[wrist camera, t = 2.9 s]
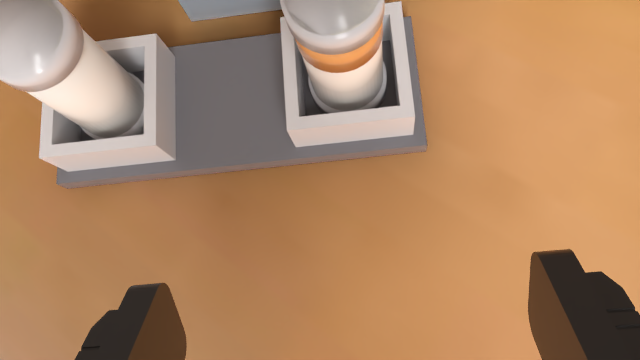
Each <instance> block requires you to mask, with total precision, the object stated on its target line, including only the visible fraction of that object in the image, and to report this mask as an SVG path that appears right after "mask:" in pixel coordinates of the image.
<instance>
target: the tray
mask: <svg viewBox="0 0 640 360" xmlns="http://www.w3.org/2000/svg"><path fill="white" fill-rule="evenodd" d="M178 1H179V3H180V5H181V6H182V8H183V9H184V11H185V12H186V14H187V15H188V17H189V18H190V20H191V21H199V20H207V19H214V18H222V17H229V16H237V15H244V14H252V13H259V12H267V11H275V10H282V8H281V4H280V0H178Z"/></svg>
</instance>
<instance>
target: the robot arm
mask: <svg viewBox="0 0 640 360" xmlns="http://www.w3.org/2000/svg"><path fill="white" fill-rule="evenodd" d="M528 314H529V322H530V327H531V331H532V334H533V337H534V340H535V342H536V345H537V348H538V350H539V353H540V355H541V358H542V360H640V315H639V313H638V312H637V311H635V307H634V305H633V304H632V302H631V300H630V299H629V297H628V296H627V294H626V293H625V291H624V289H623V288H622V287H621V286H620V285H618V284H617V283H616V282H614V281H613V280H612V279H610V278H609V277H608V276H606V275H605V274H604V273H602V272H589V273H585V272H584V270H583V268H582V266H581V265H580V263H579V261H578V259H577V258H576V256H575V254H574V253H573V251H572V250H570V249H566V250H554V251H542V252H534V253H533V254H532V256H531V266H530V282H529V299H528ZM185 356H186V335H185V331H184V328H183V325H182V322H181V320H180V317H179V314H178V311H177V308H176V306H175V303H174V300H173V297H172V294H171V292H170V289H169V287H168V286H167V284H165V283H157V284H145V285H134V286H131V287H130V288H129V289H128V290H127V292H126V294H125V296H124V298H123V301H122V303H121V305H120V307H119V309H118V310H109V311H108V312H107V313H106V314H105V315H104V316H103V317H102V318H101V319H100V320H99V321H98V322H97V323H96V324H95V325H94V326H93V327H92V328H91V330H90V332H89V334H88V335H87V337H86V339H85V341H84V343H83V345H82V347H81V351H79V353H78V355H77V356H76V358H75V360H185Z"/></svg>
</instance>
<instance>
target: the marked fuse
mask: <svg viewBox="0 0 640 360" xmlns="http://www.w3.org/2000/svg"><path fill="white" fill-rule="evenodd" d="M280 4H281V8H282V11H283V14H284V17H285V19H286V22H287V25H288V28H289V30H290V32H291V34H292V35H293V37H294V38H295V40H296V43H297V46H298V49H299V51H300V53H301V55H302V57H303V60H304V63H305V66H306V69H307V72H308V75H309V76H308V82H309V87H310V91H311V94H312V96H313V99H314V102H315V104H316V105H317V107H318V108H319V110H320V111H321V112H322V113H323V114H329V113H338V112H347V111H356V110H365V109H373V108H379V107H380V105H381V104H382V102H383V100H384V98H385V95H386V90H387V75H386V67H385V64H384V62H383V52H382V37H383V17H384V12H385V0H280Z"/></svg>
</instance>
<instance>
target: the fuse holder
mask: <svg viewBox="0 0 640 360" xmlns="http://www.w3.org/2000/svg"><path fill="white" fill-rule="evenodd" d="M280 24H281V33H276V34H269V35H261V36H253V37H245V38H237V39H230V40H222V41H214V42H206V43H199V44H191V45H183V46H175V47H167V46H166V45H165V44H164V42H163V41H162V40H161V39H160V37H159V36H158V35H157V34H149V35H141V36H133V37H126V38H118V39H111V40H103V41H95V42H96V43H97V44H98V45H100V46H101V47H102V48H103V49H104V50H105V51H106V52H107V53H108V54H109V55H110V56H111V57H112V58H113V59H114V60H115V61H116V62H117V63H118V64H119V65H120V66H122V67H123V68H124V69H125V70H126V71H127V72H129V73H131V74H133V75H135V76H136V77H137V78H138V79H139V80H140V81H141V82H142V83H144V134H143V135H134V136H125V137H116V138H107V139H99V140H95V139H94V138H92V137H91V136H89V135H88V134H86V133H85V132H84V131H83V130H82V128H81V127H80V126H79V125H77V124H76V123H74V122H73V121H71V120H70V119H68V118H66V117H65V116H63V115H62V114H60V113H59V112H57V111H55V110H54V109H52V108H51V107H49V106H48V105H46V104H44V103H43V102H42V117H41V134H40V150H39V158H40V159H42V160H44V161H46V162H48V163H51V164H53V165H55V166H57V184H58V185H60V186H62V187H65V188H67V189H68V188H78V187H87V186H97V185H106V184H116V183H126V182H135V181H145V180H154V179H164V178H174V177H183V176H193V175H202V174H212V173H222V172H231V171H241V170H250V169H260V168H270V167H279V166H289V165H298V164H308V163H318V162H327V161H337V160H346V159H356V158H366V157H375V156H385V155H394V154H404V153H414V152H423V151H426V149H427V140H426V132H425V124H424V116H423V108H422V100H421V92H420V84H419V76H418V69H417V61H416V53H415V45H414V37H413V29H412V21H411V16H409V17H403V13H402V4H401V1H400V2H392V3H385V12H384V17H383V37H382V52H383V62H384V64H385V67H386V75H387V90H386V95H385V98H384V100H383V102H382V104H381V105H380V107H379V108H373V109H365V110H356V111H347V112H338V113H329V114H323V113H322V112H321V111H320V110H319V108H318V107H317V105H316V104H315V102H314V99H313V96H312V94H311V91H310V87H309V82H308V76H309V75H308V72H307V69H306V66H305V63H304V60H303V57H302V55H301V53H300V51H299V49H298V46H297V43H296V40H295V38H294V37H293V35H292V34H291V32H290V30H289V28H288V25H287V22H286V19H285V17H280Z"/></svg>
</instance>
